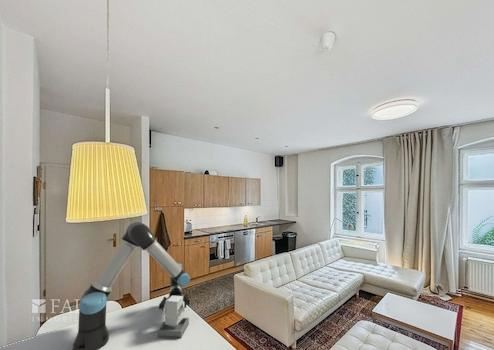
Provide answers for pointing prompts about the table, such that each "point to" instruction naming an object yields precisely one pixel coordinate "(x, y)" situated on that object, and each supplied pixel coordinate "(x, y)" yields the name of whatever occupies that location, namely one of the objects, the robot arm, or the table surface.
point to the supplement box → (173, 310)
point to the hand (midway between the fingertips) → (173, 311)
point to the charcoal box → (173, 329)
